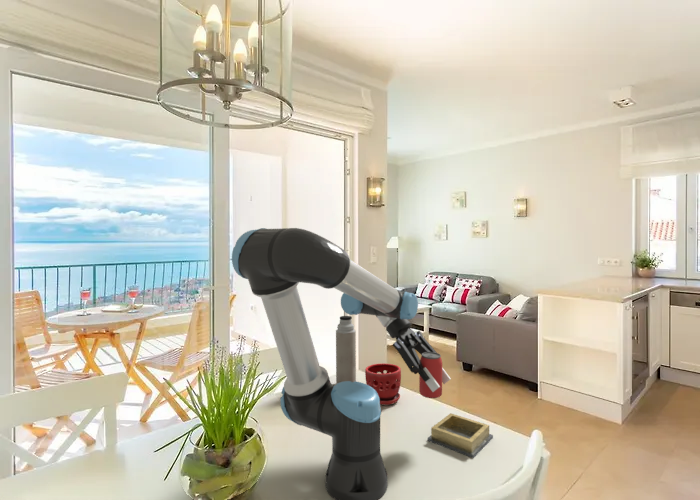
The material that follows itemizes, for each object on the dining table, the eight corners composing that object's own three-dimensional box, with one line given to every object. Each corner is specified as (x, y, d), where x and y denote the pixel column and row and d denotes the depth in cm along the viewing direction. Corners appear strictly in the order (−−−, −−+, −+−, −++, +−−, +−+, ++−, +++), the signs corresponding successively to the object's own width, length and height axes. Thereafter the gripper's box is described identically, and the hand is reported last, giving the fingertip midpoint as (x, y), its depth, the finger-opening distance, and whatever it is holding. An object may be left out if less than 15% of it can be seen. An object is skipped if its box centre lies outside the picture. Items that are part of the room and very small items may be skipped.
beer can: (416, 396, 114) (416, 356, 113) (422, 388, 120) (423, 350, 119) (439, 401, 111) (439, 359, 110) (444, 392, 117) (444, 353, 116)
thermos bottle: (332, 384, 159) (331, 316, 158) (346, 380, 164) (346, 313, 163) (345, 390, 153) (344, 319, 152) (359, 385, 158) (359, 316, 157)
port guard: (473, 457, 106) (473, 444, 105) (427, 440, 115) (427, 427, 115) (492, 437, 116) (493, 425, 116) (449, 423, 125) (449, 411, 125)
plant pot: (401, 394, 149) (401, 362, 149) (400, 408, 136) (400, 374, 136) (367, 391, 151) (367, 361, 151) (363, 406, 138) (362, 372, 138)
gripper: (403, 322, 132) (448, 381, 122) (369, 335, 117) (417, 403, 107) (417, 309, 128) (464, 369, 119) (384, 320, 113) (435, 389, 104)
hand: (442, 385), depth 113 cm, fingers closed on beer can, 6 cm apart
